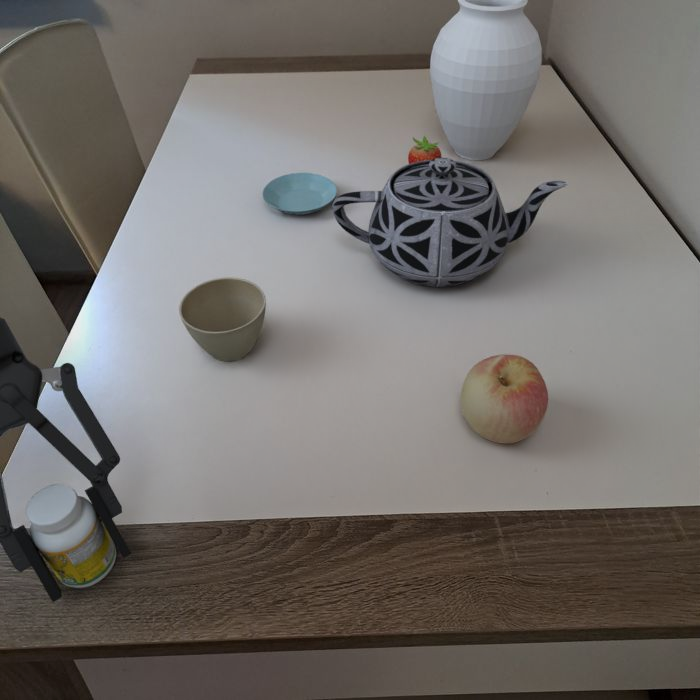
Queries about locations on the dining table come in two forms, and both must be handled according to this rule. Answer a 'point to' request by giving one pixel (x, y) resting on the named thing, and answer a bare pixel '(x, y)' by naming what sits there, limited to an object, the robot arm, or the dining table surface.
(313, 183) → the saucer
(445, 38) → the vase
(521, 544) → the dining table surface
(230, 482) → the dining table surface
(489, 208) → the teapot
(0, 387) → the robot arm
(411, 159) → the fruit
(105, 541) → the supplement bottle
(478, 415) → the apple
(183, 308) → the bowl
